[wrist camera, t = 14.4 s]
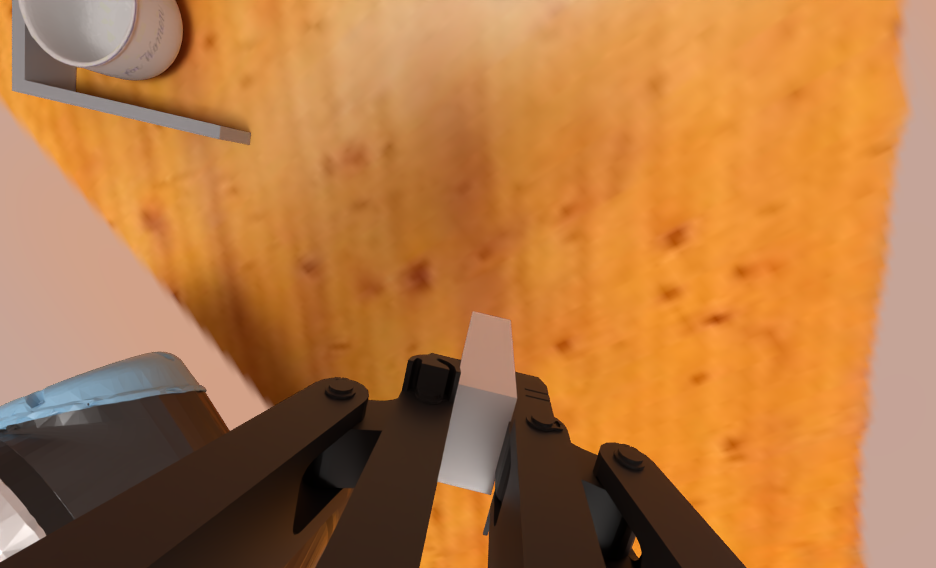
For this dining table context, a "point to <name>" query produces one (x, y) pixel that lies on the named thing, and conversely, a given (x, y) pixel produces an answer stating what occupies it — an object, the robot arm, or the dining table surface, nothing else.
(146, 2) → the teacup
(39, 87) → the box
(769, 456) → the dining table surface
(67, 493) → the robot arm
